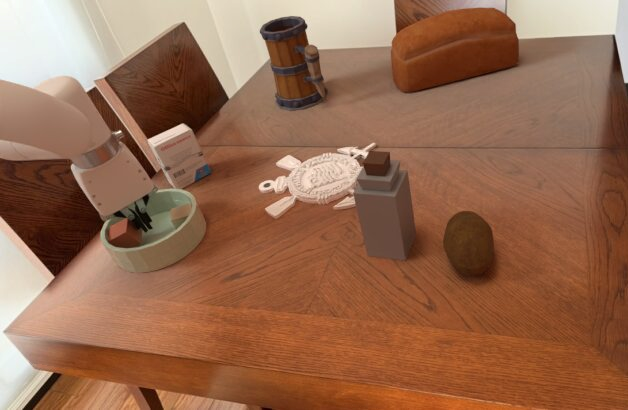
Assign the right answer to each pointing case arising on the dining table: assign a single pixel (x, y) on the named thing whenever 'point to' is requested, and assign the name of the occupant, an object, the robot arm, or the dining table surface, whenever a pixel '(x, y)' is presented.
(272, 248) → the dining table surface
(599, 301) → the dining table surface
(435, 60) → the bread
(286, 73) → the mug
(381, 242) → the perfume bottle
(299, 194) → the pendant
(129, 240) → the terracotta block
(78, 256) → the dining table surface
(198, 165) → the ink box
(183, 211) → the cream block
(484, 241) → the potato
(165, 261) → the bowl
